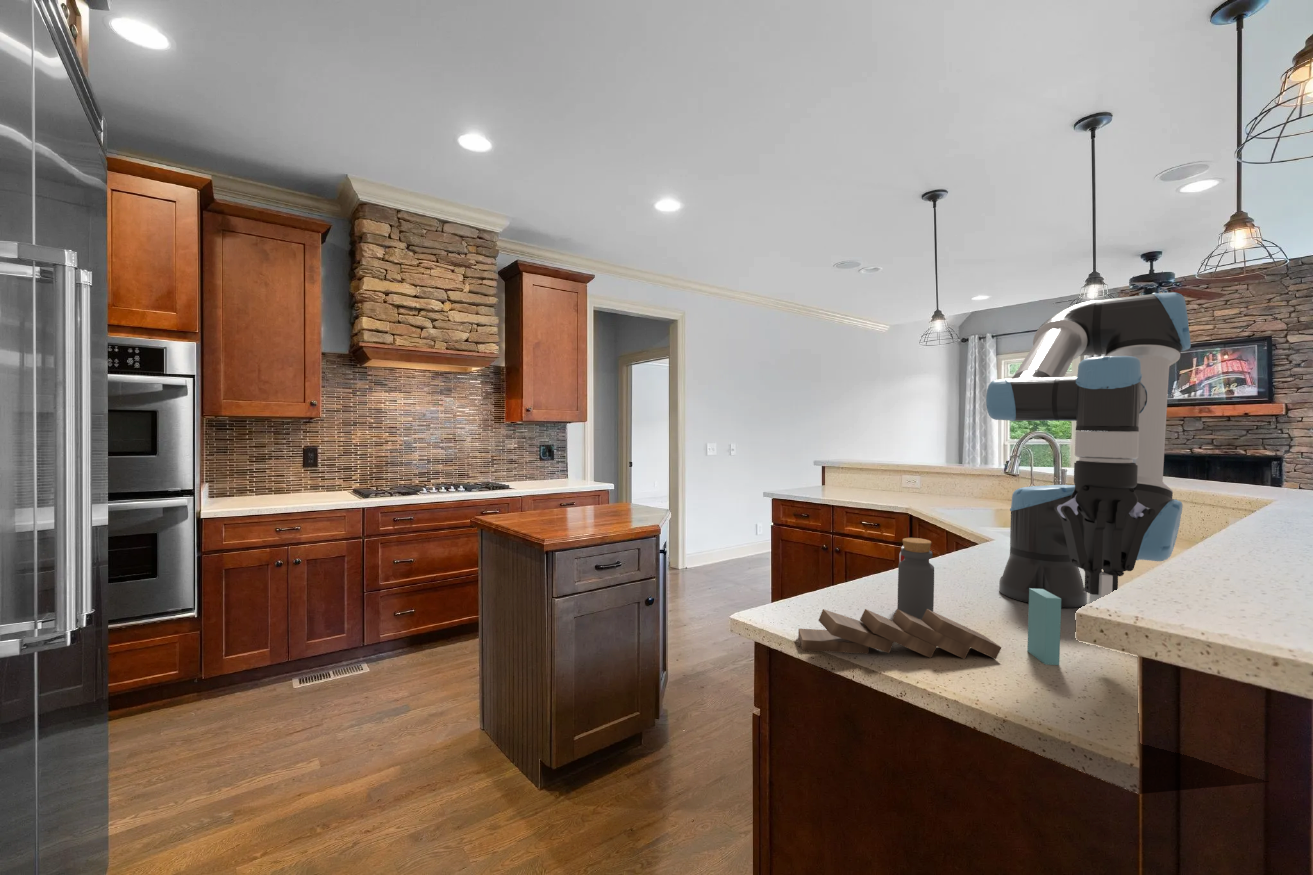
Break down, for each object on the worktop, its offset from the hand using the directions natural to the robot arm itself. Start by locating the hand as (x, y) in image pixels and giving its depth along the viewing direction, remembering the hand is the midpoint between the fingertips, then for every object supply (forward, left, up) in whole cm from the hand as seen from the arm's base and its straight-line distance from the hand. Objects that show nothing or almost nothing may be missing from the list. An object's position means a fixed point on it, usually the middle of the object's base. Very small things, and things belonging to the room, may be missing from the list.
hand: (1100, 615), depth 87 cm
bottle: (+19, -18, -7) cm, 27 cm away
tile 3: (+19, -5, -6) cm, 21 cm away
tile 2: (+14, -5, -6) cm, 16 cm away
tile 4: (+24, -6, -6) cm, 26 cm away
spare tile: (+8, -2, -7) cm, 11 cm away
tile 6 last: (+33, -9, -6) cm, 35 cm away
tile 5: (+31, -8, -5) cm, 32 cm away
